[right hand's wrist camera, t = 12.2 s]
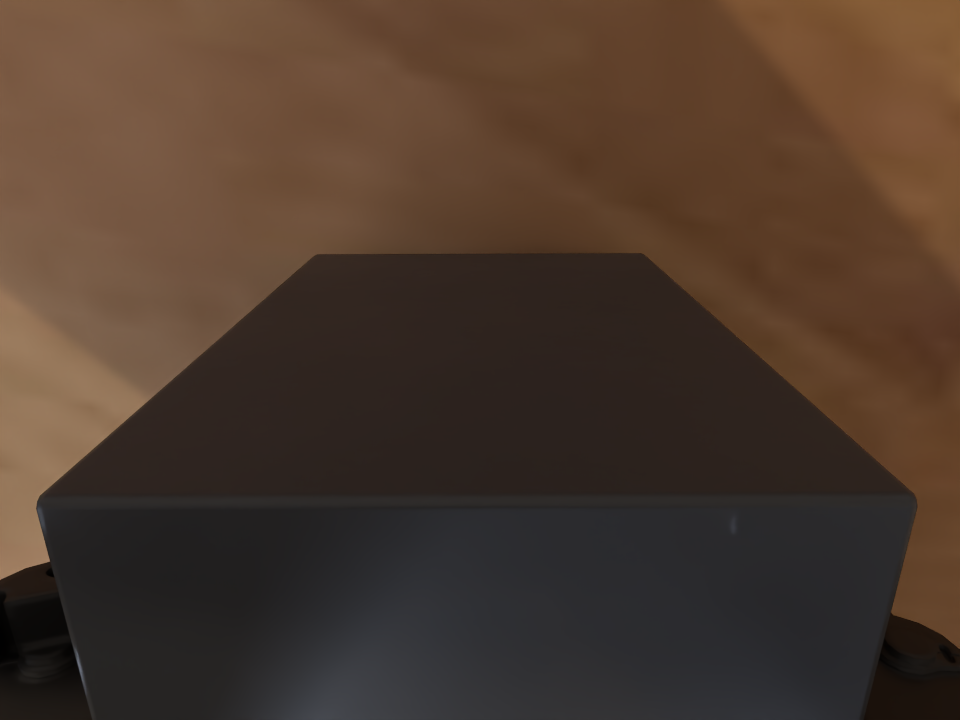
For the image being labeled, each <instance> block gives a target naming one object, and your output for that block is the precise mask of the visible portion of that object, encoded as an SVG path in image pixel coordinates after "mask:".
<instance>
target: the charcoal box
mask: <svg viewBox="0 0 960 720" xmlns="http://www.w3.org/2000/svg"><path fill="white" fill-rule="evenodd" d="M36 509H37V513H38V517H39V521H40V524H41V528H42V532H43V536H44V540H45V543H46V547H47V551H48V555H49V558H50V562H51V566H52V570H53V574H54V577H55V581H56V585H57V589H58V592H59V596H60V600H61V604H62V608H63V611H64V615H65V619H66V623H67V626H68V630H69V634H70V638H71V642H72V645H73V649H74V653H75V657H76V660H77V664H78V668H79V672H80V676H81V679H82V683H83V687H84V691H85V694H86V698H87V702H88V706H89V709H90V713H91V717H92V720H864V716H865V712H866V708H867V704H868V700H869V697H870V693H871V689H872V685H873V681H874V677H875V673H876V669H877V665H878V661H879V657H880V653H881V649H882V645H883V641H884V637H885V633H886V629H887V625H888V621H889V617H890V613H891V609H892V605H893V601H894V597H895V593H896V589H897V585H898V581H899V578H900V574H901V570H902V566H903V562H904V558H905V554H906V550H907V546H908V542H909V538H910V534H911V530H912V526H913V522H914V518H915V514H916V510H917V500H916V497H915V495H914V493H912V492H911V491H910V490H909V489H908V488H907V487H906V486H905V485H903V484H902V483H901V482H900V481H899V480H898V479H897V478H896V477H894V476H893V475H892V474H891V473H890V472H889V471H888V470H887V469H885V468H884V467H883V466H882V465H881V464H880V463H879V462H878V461H876V460H875V459H874V458H873V457H872V456H871V455H870V454H868V453H867V452H866V451H865V450H864V449H863V448H862V447H861V446H859V445H858V444H857V443H856V442H855V441H854V440H853V439H852V438H850V437H849V436H848V435H847V434H846V433H845V432H844V431H843V430H841V429H840V428H839V427H838V426H837V425H836V424H835V423H834V422H832V421H831V420H830V419H829V418H828V417H827V416H826V415H824V414H823V413H822V412H821V411H820V410H819V409H818V408H817V407H815V406H814V405H813V404H812V403H811V402H810V401H809V400H808V399H806V398H805V397H804V396H803V395H802V394H801V393H800V392H799V391H797V390H796V389H795V388H794V387H793V386H792V385H791V384H790V383H788V382H787V381H786V380H785V379H784V378H783V377H782V376H780V375H779V374H778V373H777V372H776V371H775V370H774V369H773V368H771V367H770V366H769V365H768V364H767V363H766V362H765V361H764V360H762V359H761V358H760V357H759V356H758V355H757V354H756V353H755V352H753V351H752V350H751V349H750V348H749V347H748V346H747V345H746V344H744V343H743V342H742V341H741V340H740V339H739V338H738V337H736V336H735V335H734V334H733V333H732V332H731V331H730V330H729V329H727V328H726V327H725V326H724V325H723V324H722V323H721V322H720V321H718V320H717V319H716V318H715V317H714V316H713V315H712V314H711V313H709V312H708V311H707V310H706V309H705V308H704V307H703V306H702V305H700V304H699V303H698V302H697V301H696V300H695V299H694V298H693V297H691V296H690V295H689V294H688V293H687V292H686V291H685V290H683V289H682V288H681V287H680V286H679V285H678V284H677V283H676V282H674V281H673V280H672V279H671V278H670V277H669V276H668V275H667V274H665V273H664V272H663V271H662V270H661V269H660V268H659V267H658V266H656V265H655V264H654V263H653V262H652V261H651V260H650V259H649V258H647V257H646V256H645V255H644V254H641V253H598V254H317V255H315V256H314V257H312V258H311V259H310V260H309V261H308V262H307V263H306V264H304V265H303V266H302V267H301V268H300V269H299V270H298V271H296V272H295V273H294V274H293V275H292V276H291V277H290V278H288V279H287V280H286V281H285V282H284V283H283V284H282V285H280V286H279V287H278V288H277V289H276V290H275V291H274V292H272V293H271V294H270V295H269V296H268V297H267V298H266V299H264V300H263V301H262V302H261V303H260V304H259V305H258V306H256V307H255V308H254V309H253V310H252V311H251V312H250V313H248V314H247V315H246V316H245V317H244V318H243V319H242V320H240V321H239V322H238V323H237V324H236V325H235V326H234V327H232V328H231V329H230V330H229V331H228V332H227V333H226V334H224V335H223V336H222V337H221V338H220V339H219V340H218V341H216V342H215V343H214V344H213V345H212V346H211V347H210V348H208V349H207V350H206V351H205V352H204V353H203V354H202V355H200V356H199V357H198V358H197V359H196V360H195V361H194V362H192V363H191V364H190V365H189V366H188V367H187V368H186V369H184V370H183V371H182V372H181V373H180V374H179V375H178V376H176V377H175V378H174V379H173V380H172V381H171V382H170V383H168V384H167V385H166V386H165V387H164V388H163V389H162V390H160V391H159V392H158V393H157V394H156V395H155V396H154V397H152V398H151V399H150V400H149V401H148V402H147V403H146V404H144V405H143V406H142V407H141V408H140V409H139V410H138V411H136V412H135V413H134V414H133V415H132V416H131V417H130V418H128V419H127V420H126V421H125V422H124V423H123V424H122V425H120V426H119V427H118V428H117V429H116V430H115V431H114V432H112V433H111V434H110V435H109V436H108V437H107V438H106V439H104V440H103V441H102V442H101V443H100V444H99V445H98V446H96V447H95V448H94V449H93V450H92V451H91V452H90V453H88V454H87V455H86V456H85V457H84V458H83V459H82V460H80V461H79V462H78V463H77V464H76V465H75V466H74V467H72V468H71V469H70V470H69V471H68V472H67V473H66V474H64V475H63V476H62V477H61V478H60V479H59V480H58V481H56V482H55V483H54V484H53V485H52V486H51V487H50V488H48V489H47V490H46V491H45V492H44V493H43V494H42V495H40V497H39V499H38V501H37V508H36Z"/></svg>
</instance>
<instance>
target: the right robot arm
mask: <svg viewBox="0 0 960 720" xmlns="http://www.w3.org/2000/svg"><path fill="white" fill-rule="evenodd" d="M0 720H92V717H91V713H90V709H89V706H88V702H87V698H86V694H85V691H84V687H83V683H82V679H81V676H80V672H79V668H78V664H77V660H76V657H75V653H74V649H73V645H72V642H71V638H70V634H69V630H68V626H67V623H66V619H65V615H64V611H63V608H62V604H61V600H60V596H59V592H58V589H57V585H56V581H55V577H54V574H53V570H52V566H51V562H47V563H44V564H40V565H36V566H32V567H29V568H25V569H23V570H21V571H19V572H17V573H14V574H12V575H10V576H8V577H6V578H3V579H1V580H0ZM864 720H960V649H959V648H957V647H956V646H955V645H954V644H952V643H951V642H950V641H949V640H948V639H946V638H945V637H944V636H943V635H941V634H939V633H937V632H935V631H933V630H931V629H929V628H927V627H925V626H923V625H922V624H920V623H917V622H914V621H910V620H907V619H904V618H900V617H897V616H893V615H892V613H890V617H889V621H888V625H887V629H886V633H885V637H884V641H883V645H882V649H881V653H880V657H879V661H878V665H877V669H876V673H875V677H874V681H873V685H872V689H871V693H870V697H869V700H868V704H867V708H866V712H865V716H864Z"/></svg>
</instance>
